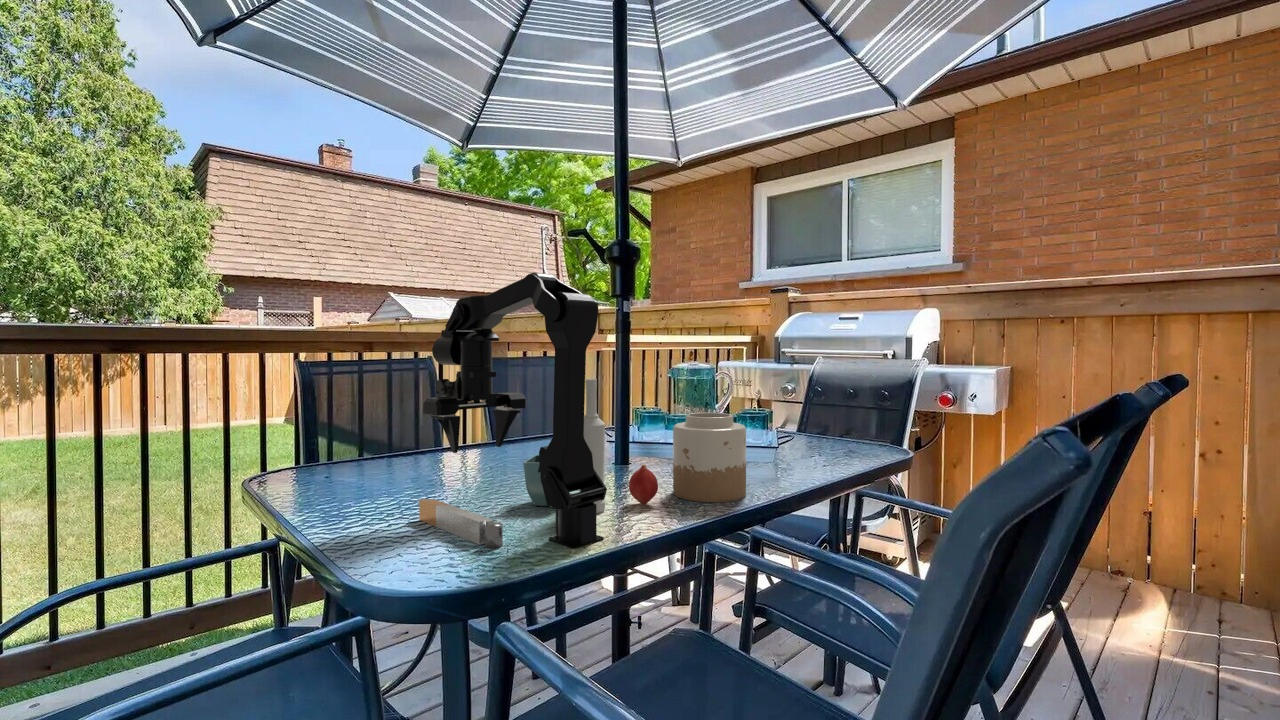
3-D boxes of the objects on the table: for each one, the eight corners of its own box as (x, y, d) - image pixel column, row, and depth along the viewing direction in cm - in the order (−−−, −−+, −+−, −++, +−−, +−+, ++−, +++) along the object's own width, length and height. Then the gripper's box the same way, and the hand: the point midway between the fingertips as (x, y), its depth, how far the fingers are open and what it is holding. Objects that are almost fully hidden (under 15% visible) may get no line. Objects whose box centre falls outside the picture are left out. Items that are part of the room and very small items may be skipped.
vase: (708, 482, 142) (708, 409, 141) (761, 494, 130) (761, 415, 130) (658, 492, 132) (658, 414, 132) (710, 507, 120) (710, 421, 120)
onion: (624, 502, 124) (624, 462, 124) (651, 499, 126) (651, 460, 126) (634, 509, 118) (634, 468, 118) (662, 506, 121) (662, 465, 120)
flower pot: (577, 498, 127) (576, 454, 127) (567, 510, 118) (567, 463, 118) (535, 497, 128) (534, 454, 128) (522, 508, 119) (522, 462, 119)
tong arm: (486, 543, 98) (486, 520, 98) (479, 544, 97) (479, 522, 97) (425, 518, 112) (425, 498, 112) (419, 519, 111) (419, 499, 111)
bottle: (594, 515, 114) (594, 380, 114) (572, 511, 117) (571, 379, 116) (610, 509, 119) (610, 378, 118) (589, 505, 121) (588, 378, 121)
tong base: (506, 547, 97) (506, 524, 96) (491, 551, 95) (491, 528, 95) (433, 518, 113) (432, 498, 113) (419, 521, 111) (419, 501, 111)
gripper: (495, 363, 128) (496, 439, 128) (408, 366, 114) (409, 450, 115) (527, 365, 120) (528, 445, 120) (438, 367, 106) (439, 458, 107)
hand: (477, 449), depth 116 cm, fingers open, 9 cm apart
